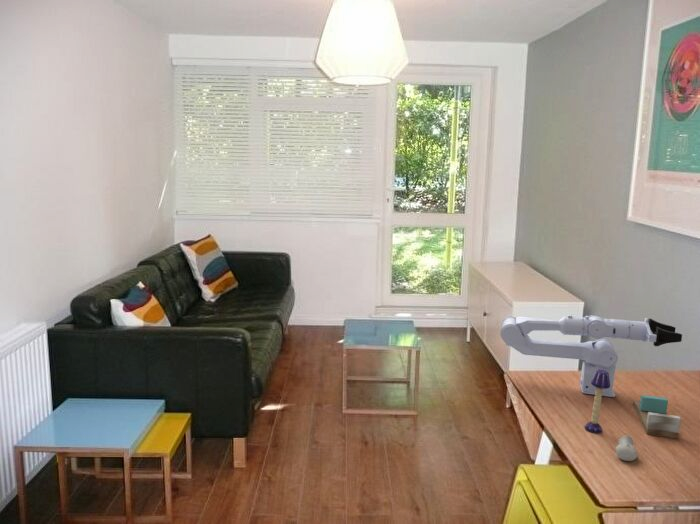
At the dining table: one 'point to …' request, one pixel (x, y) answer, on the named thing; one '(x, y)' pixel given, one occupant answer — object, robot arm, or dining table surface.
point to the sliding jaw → (653, 404)
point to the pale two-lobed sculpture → (626, 449)
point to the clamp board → (658, 422)
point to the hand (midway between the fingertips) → (678, 334)
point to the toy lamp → (598, 399)
